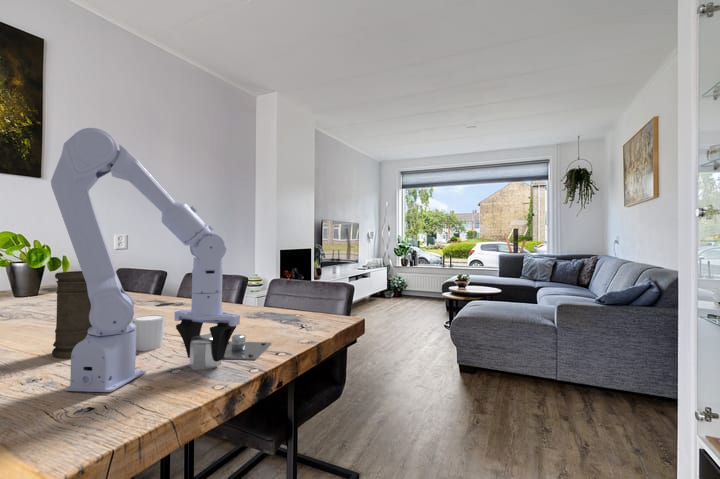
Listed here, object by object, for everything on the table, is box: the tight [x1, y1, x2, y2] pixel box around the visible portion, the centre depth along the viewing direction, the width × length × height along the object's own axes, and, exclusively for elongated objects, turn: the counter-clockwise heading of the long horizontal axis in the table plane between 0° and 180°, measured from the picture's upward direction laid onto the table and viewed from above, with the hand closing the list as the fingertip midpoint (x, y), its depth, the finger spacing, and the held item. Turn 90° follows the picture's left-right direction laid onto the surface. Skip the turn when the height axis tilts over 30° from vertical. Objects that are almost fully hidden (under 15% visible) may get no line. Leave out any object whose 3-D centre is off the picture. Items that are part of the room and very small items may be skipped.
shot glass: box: [131, 314, 166, 352], centre depth 84 cm, size 7×7×7 cm
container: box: [51, 270, 92, 359], centre depth 80 cm, size 9×9×18 cm
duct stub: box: [223, 333, 272, 361], centre depth 83 cm, size 12×12×3 cm
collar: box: [189, 333, 222, 371], centre depth 73 cm, size 6×6×6 cm
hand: (205, 358), depth 73 cm, fingers closed on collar, 6 cm apart
